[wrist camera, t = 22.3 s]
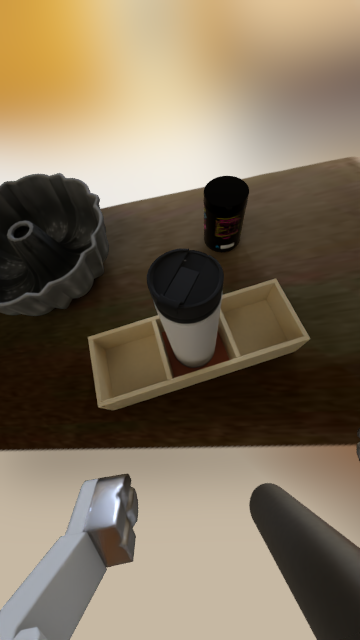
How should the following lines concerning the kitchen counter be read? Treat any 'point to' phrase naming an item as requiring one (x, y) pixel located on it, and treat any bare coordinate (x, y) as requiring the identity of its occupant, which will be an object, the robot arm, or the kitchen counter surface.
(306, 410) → the kitchen counter surface
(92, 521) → the robot arm
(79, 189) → the bundt pan
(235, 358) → the organiser
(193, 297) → the travel mug
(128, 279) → the kitchen counter surface
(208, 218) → the supplement container
